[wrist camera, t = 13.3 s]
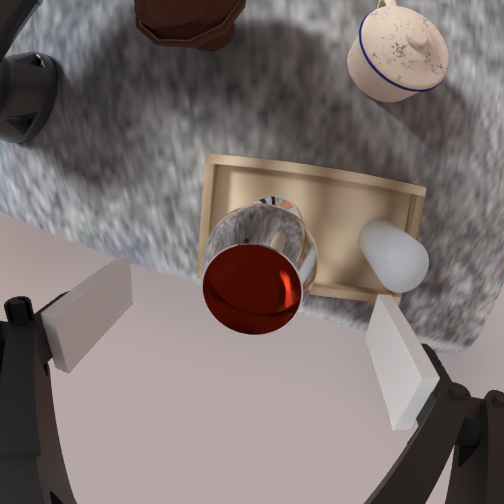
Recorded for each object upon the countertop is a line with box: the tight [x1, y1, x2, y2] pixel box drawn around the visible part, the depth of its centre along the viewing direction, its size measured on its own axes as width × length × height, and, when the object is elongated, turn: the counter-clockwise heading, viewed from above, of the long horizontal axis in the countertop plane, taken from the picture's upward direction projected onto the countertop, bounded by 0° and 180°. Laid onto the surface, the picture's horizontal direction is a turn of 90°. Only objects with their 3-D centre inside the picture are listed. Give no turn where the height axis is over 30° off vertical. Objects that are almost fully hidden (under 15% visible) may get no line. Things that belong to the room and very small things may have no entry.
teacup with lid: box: [347, 0, 449, 103], centre depth 22 cm, size 12×9×12 cm
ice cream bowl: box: [134, 0, 246, 51], centre depth 22 cm, size 11×11×15 cm
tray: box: [198, 154, 427, 305], centre depth 33 cm, size 24×14×3 cm, turn 84°
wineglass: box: [201, 195, 318, 336], centre depth 25 cm, size 8×8×18 cm
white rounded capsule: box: [358, 218, 429, 293], centre depth 29 cm, size 5×5×9 cm
